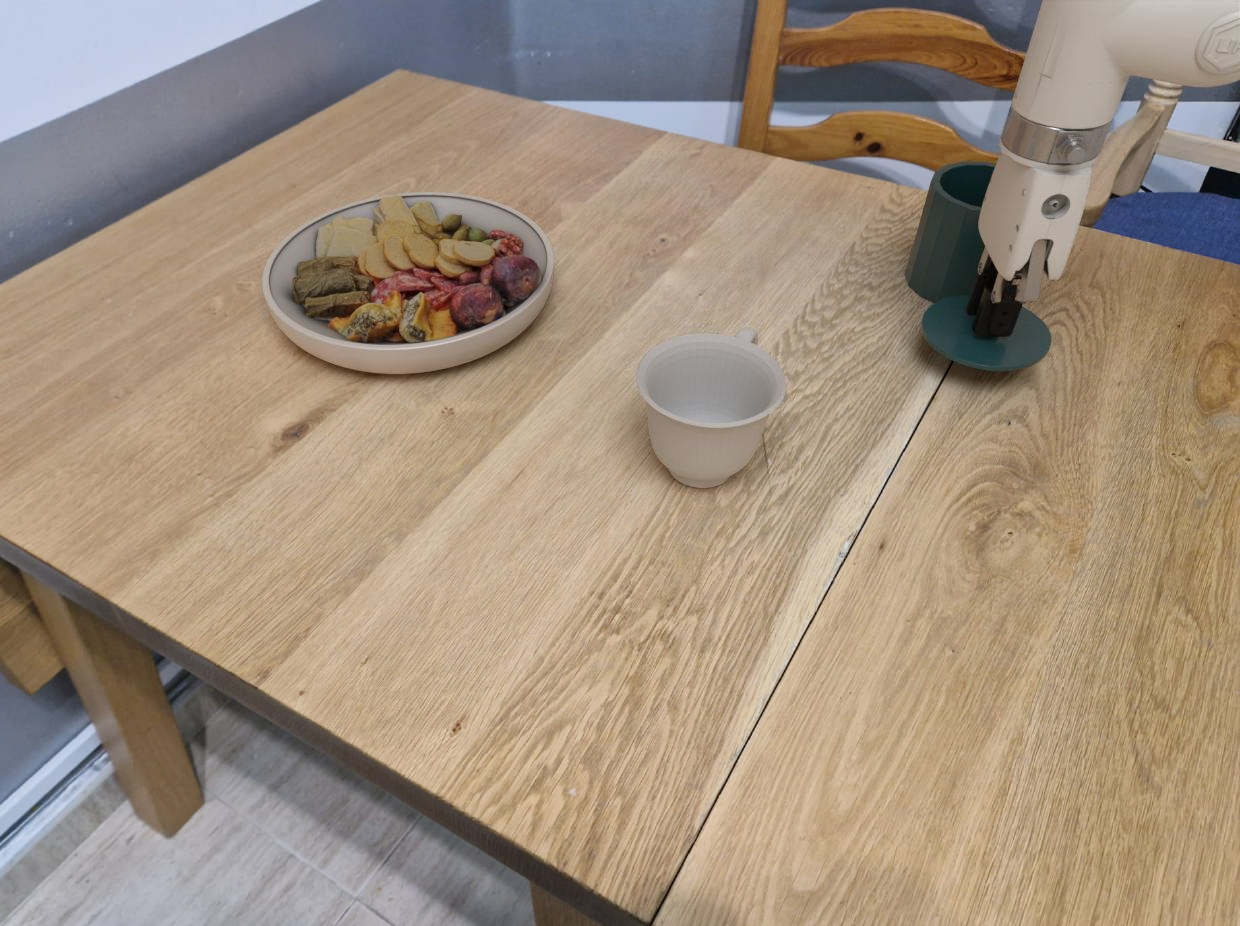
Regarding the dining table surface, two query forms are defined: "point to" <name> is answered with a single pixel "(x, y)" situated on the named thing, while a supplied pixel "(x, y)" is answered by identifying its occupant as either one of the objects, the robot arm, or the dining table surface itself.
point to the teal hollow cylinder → (950, 232)
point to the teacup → (708, 403)
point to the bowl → (409, 281)
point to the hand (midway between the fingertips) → (988, 322)
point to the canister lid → (959, 342)
